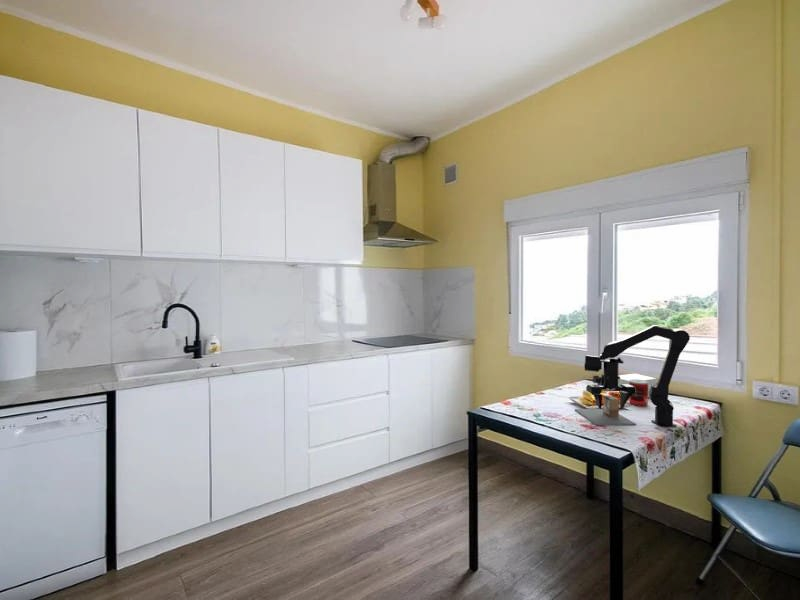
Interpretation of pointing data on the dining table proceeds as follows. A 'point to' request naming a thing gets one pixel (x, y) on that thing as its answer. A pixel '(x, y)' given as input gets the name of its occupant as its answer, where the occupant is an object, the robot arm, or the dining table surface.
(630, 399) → the canned food
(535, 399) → the dining table surface
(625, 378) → the supplement box
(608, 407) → the block
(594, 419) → the mat
